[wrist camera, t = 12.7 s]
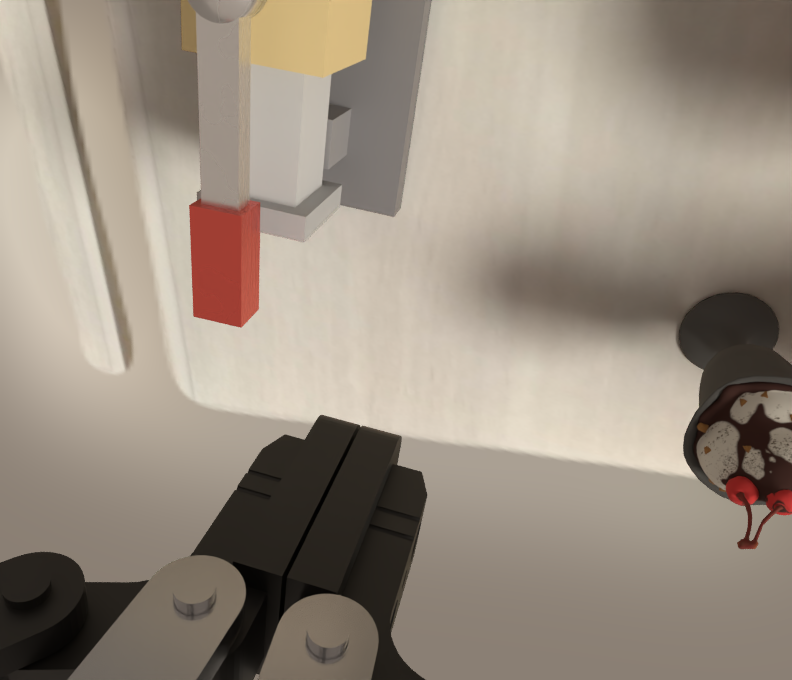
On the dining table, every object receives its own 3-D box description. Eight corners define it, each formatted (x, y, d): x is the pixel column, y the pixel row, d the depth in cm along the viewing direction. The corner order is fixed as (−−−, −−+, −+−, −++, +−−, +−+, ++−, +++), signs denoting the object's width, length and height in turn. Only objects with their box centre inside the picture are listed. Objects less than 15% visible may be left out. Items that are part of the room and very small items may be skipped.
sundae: (645, 368, 40) (671, 562, 27) (689, 264, 36) (743, 428, 23) (762, 400, 39) (846, 614, 26) (819, 295, 35) (948, 484, 23)
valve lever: (200, -68, 24) (173, -69, 22) (270, -58, 24) (248, -59, 22) (209, 297, 31) (189, 315, 30) (263, 309, 31) (245, 328, 29)
